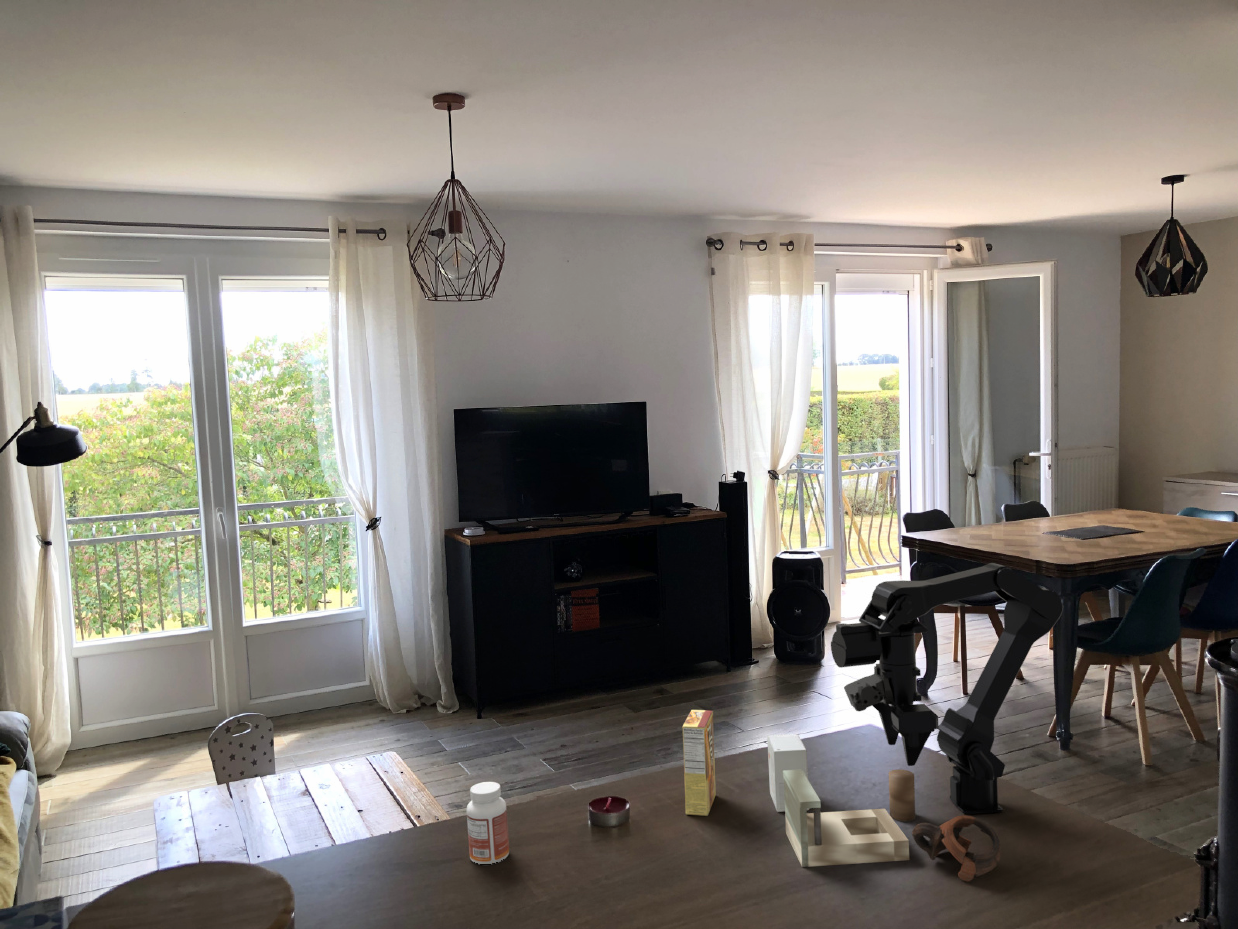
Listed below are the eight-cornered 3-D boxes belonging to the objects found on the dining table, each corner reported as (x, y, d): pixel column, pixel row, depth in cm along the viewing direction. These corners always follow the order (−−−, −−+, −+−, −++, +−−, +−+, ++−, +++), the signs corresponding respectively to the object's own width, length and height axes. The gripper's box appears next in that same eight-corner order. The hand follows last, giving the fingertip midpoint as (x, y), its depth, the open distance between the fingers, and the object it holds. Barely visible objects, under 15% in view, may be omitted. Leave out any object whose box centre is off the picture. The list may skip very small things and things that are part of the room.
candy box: (693, 793, 164) (689, 709, 163) (717, 795, 163) (713, 709, 162) (684, 815, 156) (680, 726, 155) (709, 817, 154) (705, 727, 154)
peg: (910, 810, 153) (909, 768, 153) (919, 820, 149) (917, 778, 149) (886, 811, 153) (885, 770, 153) (894, 822, 149) (893, 779, 149)
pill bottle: (504, 844, 148) (500, 776, 148) (513, 861, 142) (509, 791, 142) (466, 852, 146) (461, 783, 145) (473, 870, 140) (469, 798, 140)
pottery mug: (986, 852, 139) (1003, 817, 135) (990, 908, 131) (1009, 873, 127) (905, 829, 141) (919, 794, 137) (904, 883, 133) (920, 848, 129)
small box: (809, 811, 155) (807, 750, 154) (776, 813, 155) (773, 751, 154) (801, 792, 163) (798, 733, 162) (769, 793, 163) (767, 734, 162)
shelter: (884, 825, 148) (882, 764, 148) (910, 861, 136) (908, 795, 136) (785, 831, 148) (782, 770, 147) (802, 868, 136) (800, 802, 135)
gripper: (833, 649, 159) (836, 738, 160) (865, 680, 140) (869, 781, 141) (897, 645, 159) (900, 733, 160) (938, 675, 141) (941, 776, 142)
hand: (901, 754), depth 151 cm, fingers open, 9 cm apart
